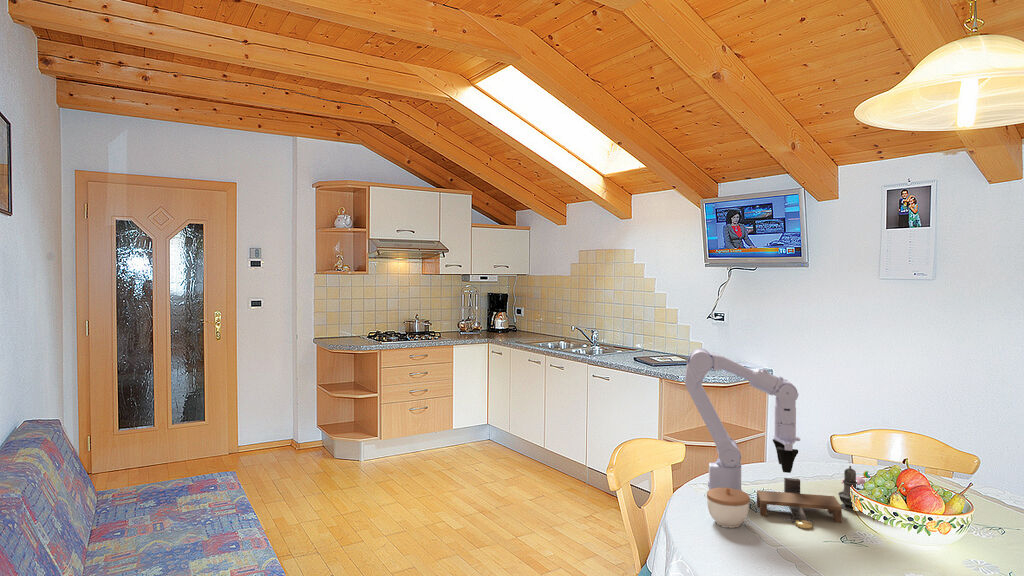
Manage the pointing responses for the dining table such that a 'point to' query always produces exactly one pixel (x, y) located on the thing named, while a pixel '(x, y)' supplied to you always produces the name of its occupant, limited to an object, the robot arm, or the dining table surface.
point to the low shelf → (799, 502)
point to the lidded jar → (728, 506)
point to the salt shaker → (848, 489)
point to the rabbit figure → (861, 480)
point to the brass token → (804, 524)
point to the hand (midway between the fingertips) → (784, 468)
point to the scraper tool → (794, 487)
